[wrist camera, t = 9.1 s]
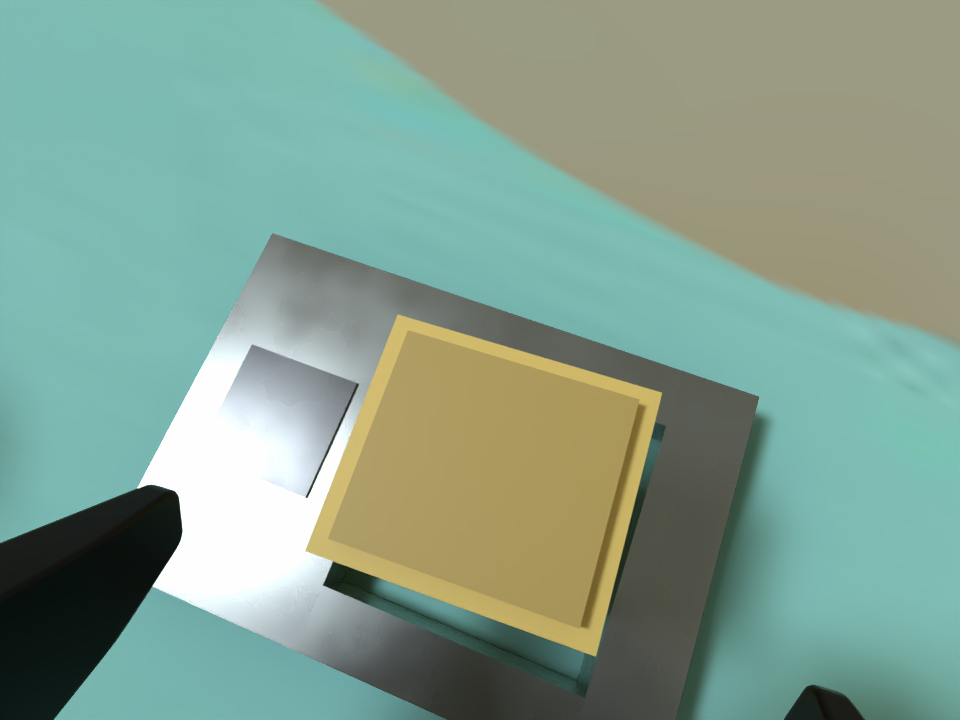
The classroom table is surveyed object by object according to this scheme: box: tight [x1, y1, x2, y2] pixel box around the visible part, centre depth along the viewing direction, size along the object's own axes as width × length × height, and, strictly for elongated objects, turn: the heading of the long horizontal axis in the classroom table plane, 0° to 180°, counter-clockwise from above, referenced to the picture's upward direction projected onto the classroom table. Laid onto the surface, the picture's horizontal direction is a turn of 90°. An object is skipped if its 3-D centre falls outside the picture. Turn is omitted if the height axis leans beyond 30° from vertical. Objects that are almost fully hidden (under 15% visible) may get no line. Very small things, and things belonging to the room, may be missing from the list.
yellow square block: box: [305, 315, 662, 657], centre depth 14 cm, size 4×4×10 cm
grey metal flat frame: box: [138, 233, 759, 720], centre depth 18 cm, size 11×16×2 cm
